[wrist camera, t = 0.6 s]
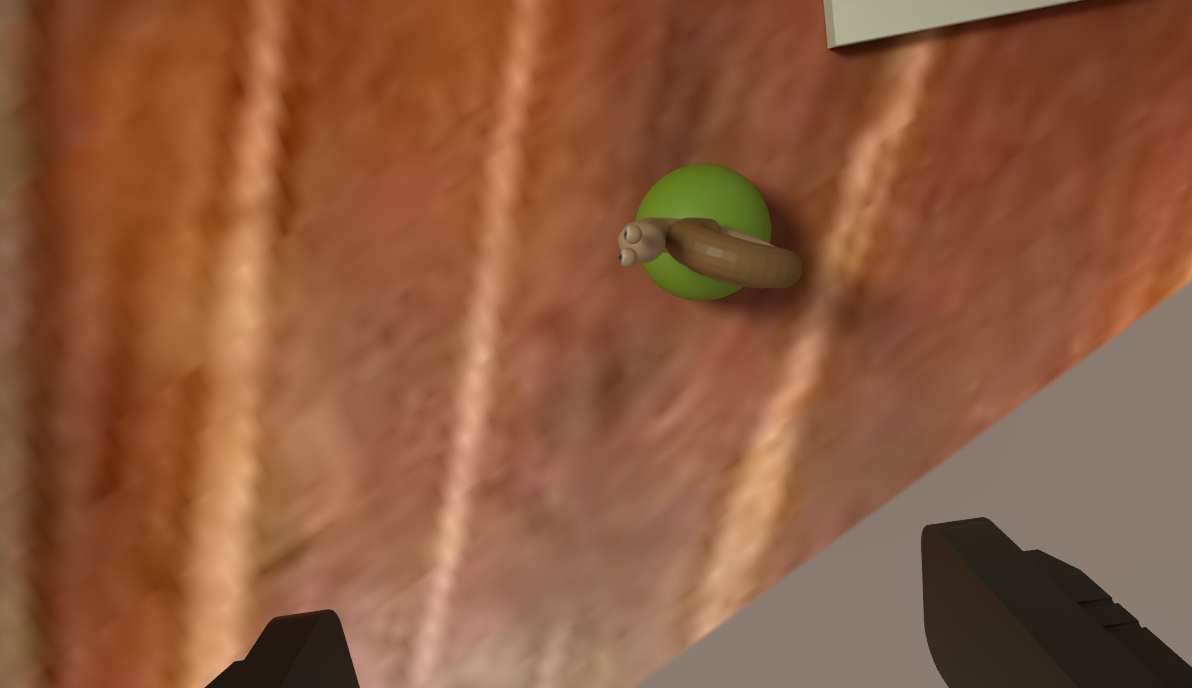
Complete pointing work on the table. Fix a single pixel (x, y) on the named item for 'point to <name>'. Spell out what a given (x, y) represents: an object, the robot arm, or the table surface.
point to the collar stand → (912, 16)
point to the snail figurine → (706, 236)
